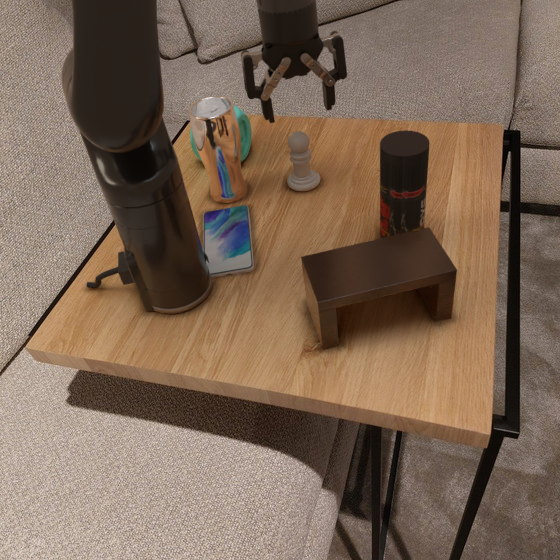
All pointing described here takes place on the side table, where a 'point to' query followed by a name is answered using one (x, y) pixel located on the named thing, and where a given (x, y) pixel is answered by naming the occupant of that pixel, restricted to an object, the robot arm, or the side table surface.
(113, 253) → the side table surface
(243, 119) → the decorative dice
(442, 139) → the side table surface
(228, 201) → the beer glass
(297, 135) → the chess piece
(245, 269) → the smartphone
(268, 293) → the side table surface
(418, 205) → the deodorant
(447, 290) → the shelf
